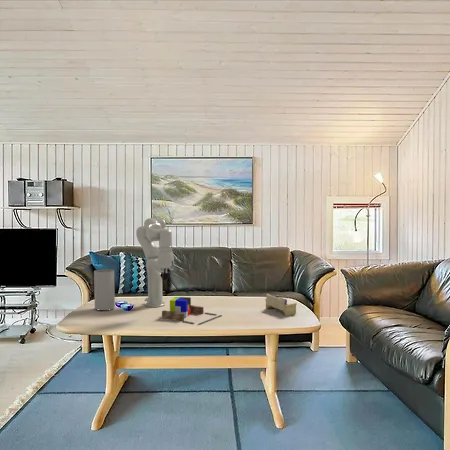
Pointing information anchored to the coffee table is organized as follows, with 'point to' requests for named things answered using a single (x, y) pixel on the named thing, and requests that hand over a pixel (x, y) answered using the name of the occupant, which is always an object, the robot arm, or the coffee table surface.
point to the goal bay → (204, 321)
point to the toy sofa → (280, 304)
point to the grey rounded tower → (104, 289)
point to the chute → (180, 315)
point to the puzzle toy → (181, 305)
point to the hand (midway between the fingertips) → (166, 279)
